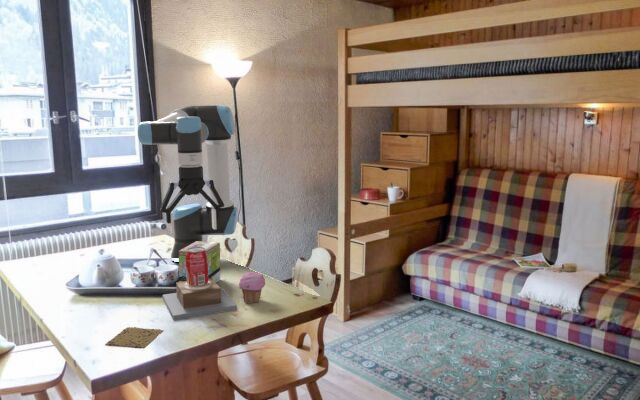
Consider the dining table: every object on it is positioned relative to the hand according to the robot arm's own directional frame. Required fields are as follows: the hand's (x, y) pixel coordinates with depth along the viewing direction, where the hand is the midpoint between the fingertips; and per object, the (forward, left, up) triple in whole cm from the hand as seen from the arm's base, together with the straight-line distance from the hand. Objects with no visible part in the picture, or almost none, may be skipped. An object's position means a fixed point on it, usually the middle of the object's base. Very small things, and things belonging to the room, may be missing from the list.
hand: (193, 230), depth 173 cm
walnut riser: (+1, 0, -23) cm, 23 cm away
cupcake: (+6, +17, -25) cm, 31 cm away
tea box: (-18, +5, -25) cm, 31 cm away
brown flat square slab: (+19, -22, -25) cm, 38 cm away
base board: (+1, 0, -25) cm, 25 cm away
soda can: (+1, 0, -18) cm, 18 cm away
